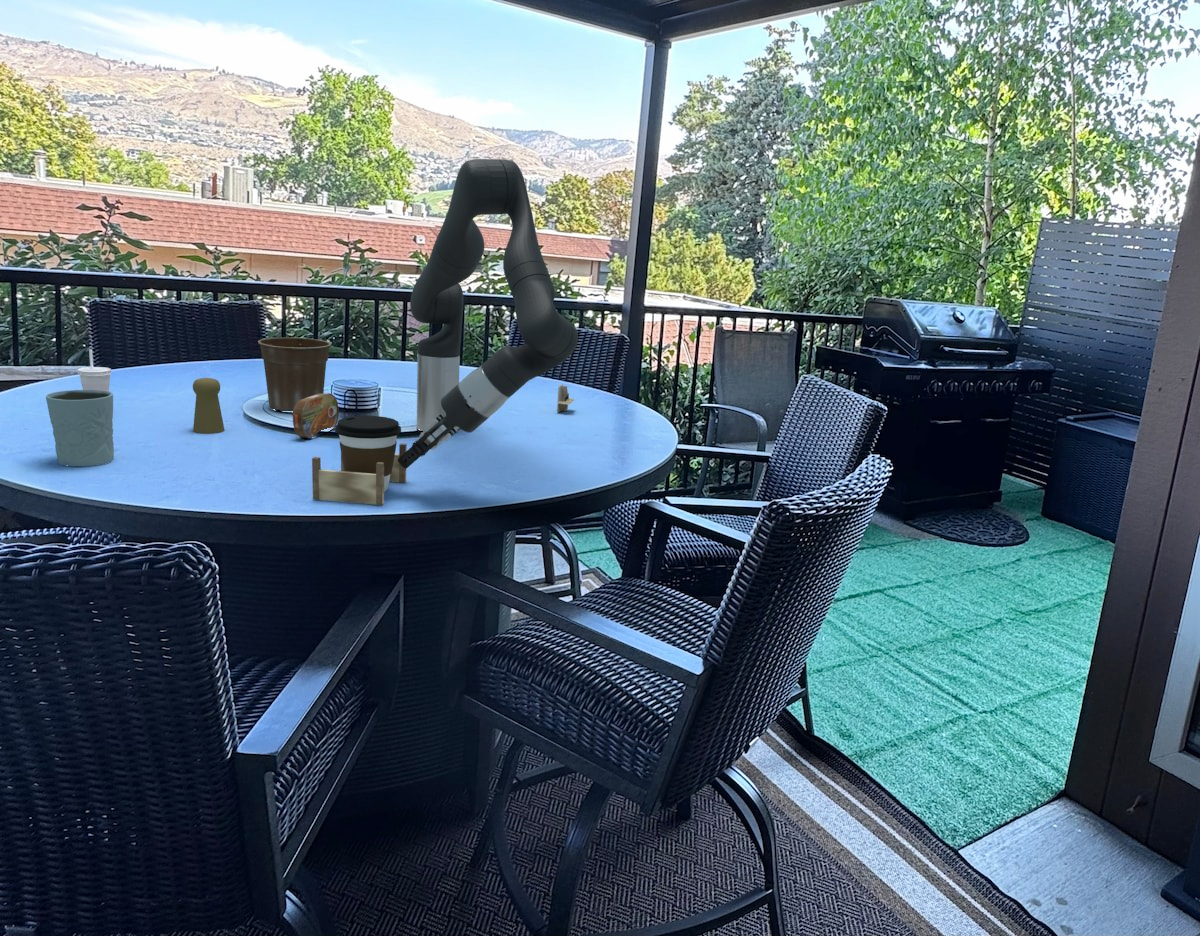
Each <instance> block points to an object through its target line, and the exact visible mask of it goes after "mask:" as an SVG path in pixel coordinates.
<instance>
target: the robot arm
mask: <svg viewBox="0 0 1200 936" xmlns="http://www.w3.org/2000/svg"><path fill="white" fill-rule="evenodd" d="M447 209H448V210H447V213H446V215H445V218H444V221H443V223H442V225H441V228H440V230H439V232H438V234H437V236H436V238H435V239H436V240H435V242H434V244H433V245H432V250H431V252H430V256H429V258H428V261H427V262H426V265H425V267H424V268H423V270H422V272H421V273H420V275H419V277H418V278H417V280H416V281H415V283H414V285H413V288H412V292H411V295H410V303H409V306H410V312H411V314H412V317H413V318H414V319H415V321H417V322H418V323H422V324H434V325H436V324H438V325H440V324H441V325H443V326H442V328H441V330H440V331H438V332H437V333H435V334H434V335H431V336H428V337H426V338H422V339H420V340H419V341H418V344H417V362H416V363H417V368H416V369H417V374H416V377H417V379H416V381H417V382H416V386H417V387H416V429H417V428H418V429H420V430H421V431H423V432H420V433H419V439H416V440H415V441H414V442H413V443H412V445H411V446H410V448H408V449H407V451H406V452H405V453H404V454H403V455H402V456H400V457H399V458H398V462H399V463H400V464H401V465H402V467H403V468H406V469H408V468H410V467H411V465H413V464H414V463H415V462H417V460H418V459H419V458H421V457H425V455H426V454H427V453H428V452H429V451H431V450H432V451H435V449H436V448H438V447H439V446H440V445H441V444H443V443H444V442H446V441H448V440H449V439H450V438H451V437H453V436H454V434H455V433H457V432H458V431H459V429H460V430H461V431H462V432H465V433H470V434H471V433H473V432H474V431H476V429H478V428H479V427H480V426H481V425H482V424H484V422H486V421H487V420H488V419H490V418H491V416H493V415H494V414H495V413H496V412H497V411H498V410H499V409H501V407H502V406H503V405H504V404H505V403H506V402H507V401H508V400H509V399H510V398H511V397H512V396H513V395H514V394H516V393H517V392H518V391H519V390H520V389H521V388H523V386H524V385H526V383H528V382H529V381H531V380H533V379H535V378H537V377H539V376H541V375H543V374H545V373H546V372H548V371H551V369H554V368H555V367H558V366H559V365H560V364H562V363H563V362H565V361H566V360H567V359H568V358H569V357H570V356H571V355H572V353H573V352H575V349H576V347H577V345H578V342H579V335H578V330H577V328H576V327H575V326H574V324H573V323H572V322H570V321H569V320H568V319H567V318H566V317H564V316H563V315H562V314H560V313H559V311H558V310H557V308H556V306H555V304H554V303H553V302H554V301H555V299H556V290H555V289H556V288H555V286H554V283H553V280H552V278H551V275H550V273H549V270H548V267H547V264H546V262H545V260H544V257H543V254H542V251H541V248H540V245H539V240H538V236H537V231H536V226H535V221H534V215H533V211H532V206H531V202H530V198H529V194H528V190H527V186H526V182H525V178H524V176H523V173H522V170H521V169H520V167H519V165H518V164H517V163H516V162H515V161H513V160H510V159H504V158H501V159H500V158H499V159H498V158H497V159H496V158H495V159H494V158H487V159H486V158H475V159H474V158H473V159H472V158H471V159H468V160H466V161H465V162H463V164H462V165H460V169H459V170H458V173H457V175H456V178H455V182H454V186H453V191H452V194H451V198H450V203H449V206H448V208H447ZM484 215H485V216H486V215H487V216H488V215H493V216H494V215H507V216H508V217H509V219H510V221H511V224H512V225H511V227H512V229H511V232H510V237H509V239H508V242H507V245H506V248H505V249H504V250H505V251H504V255H503V261H502V263H503V273H504V277H505V280H506V282H507V284H508V287H509V290H510V293H511V295H512V298H513V301H514V308H515V309H514V311H515V317H516V319H515V320H516V325H517V328H518V331H519V333H520V336H521V338H522V339H523V341H524V342H525V343H524V344H522V345H520V346H511V345H505V346H503V347H501V348H499V349H498V350H497V351H496V352H495V353H493V354H492V355H491V356H490V357H489V358H487V359H486V360H485V361H484V362H483V363H482V364H481V365H480V366H479V367H477V368H476V369H474V370H473V371H471V372H470V373H469V374H467V376H465V377H464V378H463V379H462V380H461V381H460V362H461V361H460V360H461V357H460V356H461V344H462V342H461V341H462V325H463V317H464V316H463V314H464V313H463V311H464V291H463V288H462V286H461V285H460V283H462V282H464V281H465V280H466V279H469V277H471V276H472V274H474V272H475V271H476V269H477V268H478V265H479V264H480V262H481V259H482V257H483V255H484V252H485V240H484V237H483V234H482V231H481V229H480V228H479V227H478V225H477V223H476V221H475V220H474V218H476V217H478V216H484Z"/></svg>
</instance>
